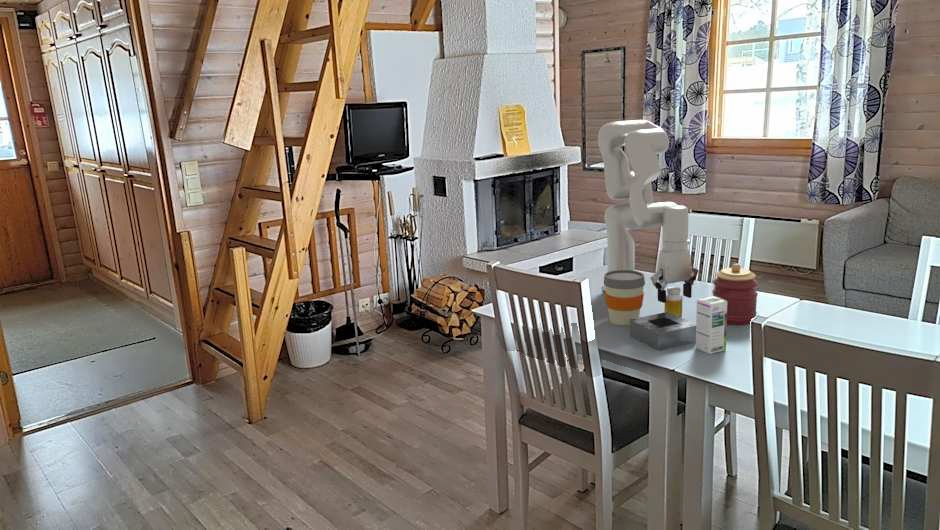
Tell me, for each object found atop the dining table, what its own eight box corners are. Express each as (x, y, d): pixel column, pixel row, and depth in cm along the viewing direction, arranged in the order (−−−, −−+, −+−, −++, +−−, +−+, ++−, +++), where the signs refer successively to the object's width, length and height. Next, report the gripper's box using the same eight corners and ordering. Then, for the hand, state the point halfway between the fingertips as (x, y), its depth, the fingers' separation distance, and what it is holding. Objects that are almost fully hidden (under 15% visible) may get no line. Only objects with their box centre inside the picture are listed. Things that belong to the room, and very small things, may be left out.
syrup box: (710, 354, 180) (712, 304, 176) (694, 347, 185) (696, 298, 181) (726, 350, 182) (728, 300, 178) (710, 343, 187) (712, 294, 183)
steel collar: (629, 335, 197) (629, 319, 195) (666, 327, 201) (667, 311, 200) (658, 350, 185) (658, 333, 183) (696, 341, 189) (697, 325, 188)
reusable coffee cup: (650, 317, 211) (650, 272, 207) (636, 329, 201) (636, 282, 197) (613, 312, 218) (612, 268, 214) (597, 323, 208) (597, 277, 204)
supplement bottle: (682, 320, 206) (683, 290, 204) (664, 320, 208) (665, 290, 205) (681, 314, 212) (681, 285, 209) (663, 314, 213) (664, 285, 210)
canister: (705, 321, 205) (707, 266, 200) (718, 309, 215) (721, 256, 210) (749, 328, 197) (752, 271, 192) (761, 315, 207) (764, 261, 202)
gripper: (689, 240, 210) (688, 292, 214) (644, 247, 204) (644, 300, 208) (706, 244, 203) (705, 297, 207) (659, 251, 197) (659, 306, 201)
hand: (674, 299), depth 207 cm, fingers open, 9 cm apart
